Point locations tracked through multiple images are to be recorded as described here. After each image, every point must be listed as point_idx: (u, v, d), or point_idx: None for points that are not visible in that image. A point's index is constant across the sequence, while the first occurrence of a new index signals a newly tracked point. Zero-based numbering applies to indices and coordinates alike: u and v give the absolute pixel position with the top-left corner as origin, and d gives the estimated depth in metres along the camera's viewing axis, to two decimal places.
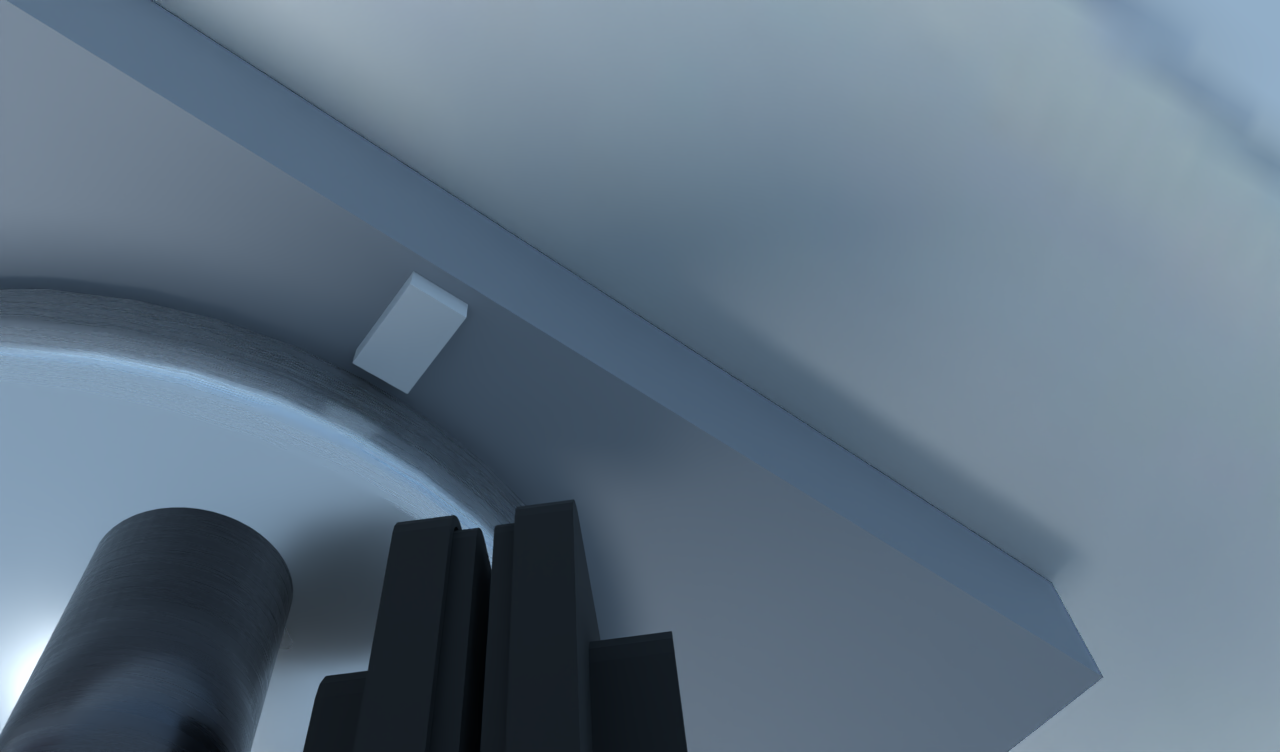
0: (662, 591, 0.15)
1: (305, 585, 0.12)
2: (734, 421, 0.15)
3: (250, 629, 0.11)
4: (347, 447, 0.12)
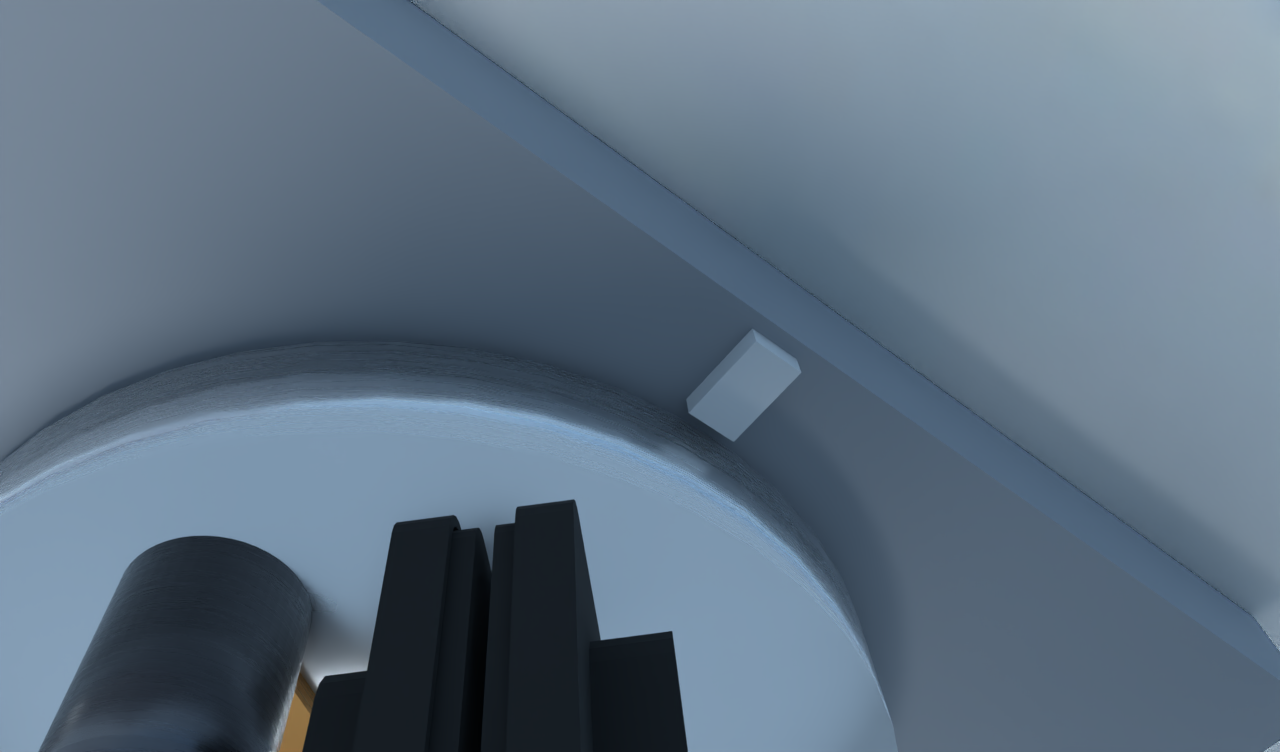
0: (927, 626, 0.16)
1: (282, 549, 0.12)
2: (1006, 466, 0.15)
3: (200, 617, 0.11)
4: (207, 418, 0.12)
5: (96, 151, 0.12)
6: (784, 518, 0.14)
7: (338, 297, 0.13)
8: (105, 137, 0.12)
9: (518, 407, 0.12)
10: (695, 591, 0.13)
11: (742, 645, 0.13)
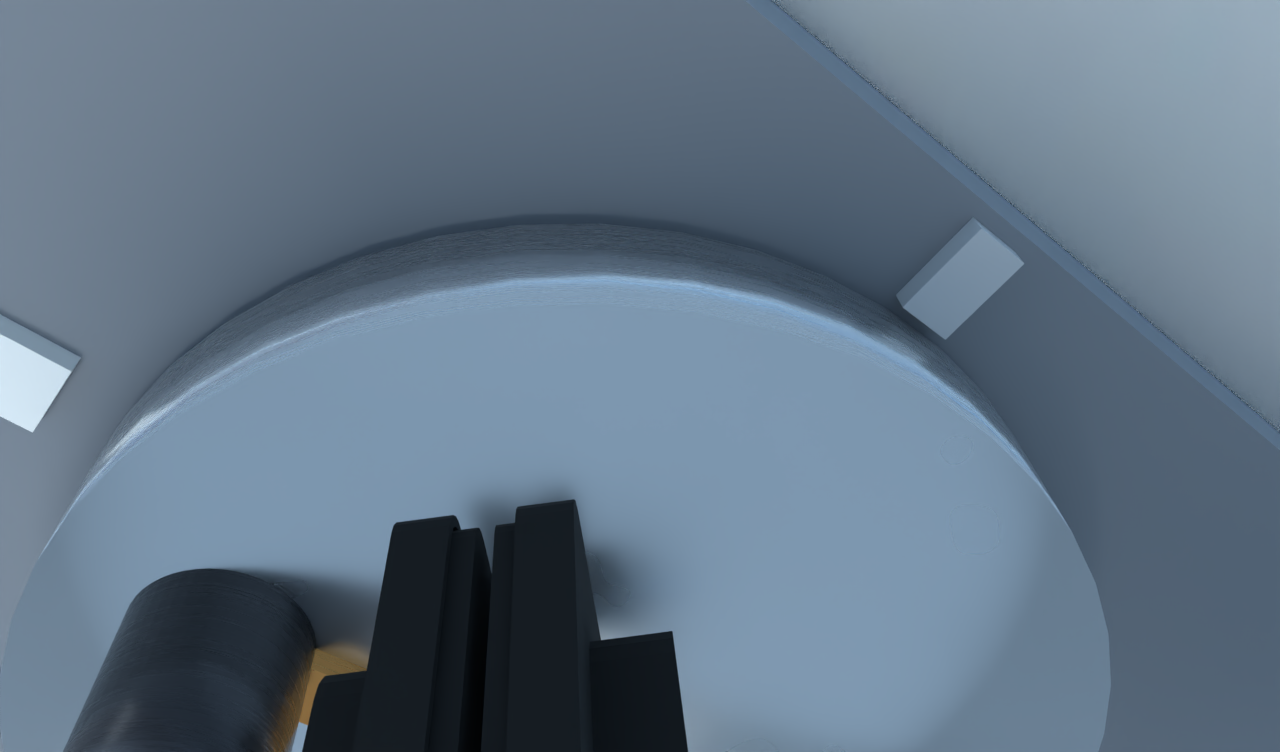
0: (1114, 546, 0.15)
1: (217, 559, 0.12)
2: (1203, 378, 0.15)
3: (137, 655, 0.11)
4: (86, 483, 0.12)
5: (310, 12, 0.11)
6: (684, 255, 0.12)
7: (546, 178, 0.12)
8: None
9: (319, 311, 0.11)
10: (593, 382, 0.11)
11: (693, 406, 0.11)
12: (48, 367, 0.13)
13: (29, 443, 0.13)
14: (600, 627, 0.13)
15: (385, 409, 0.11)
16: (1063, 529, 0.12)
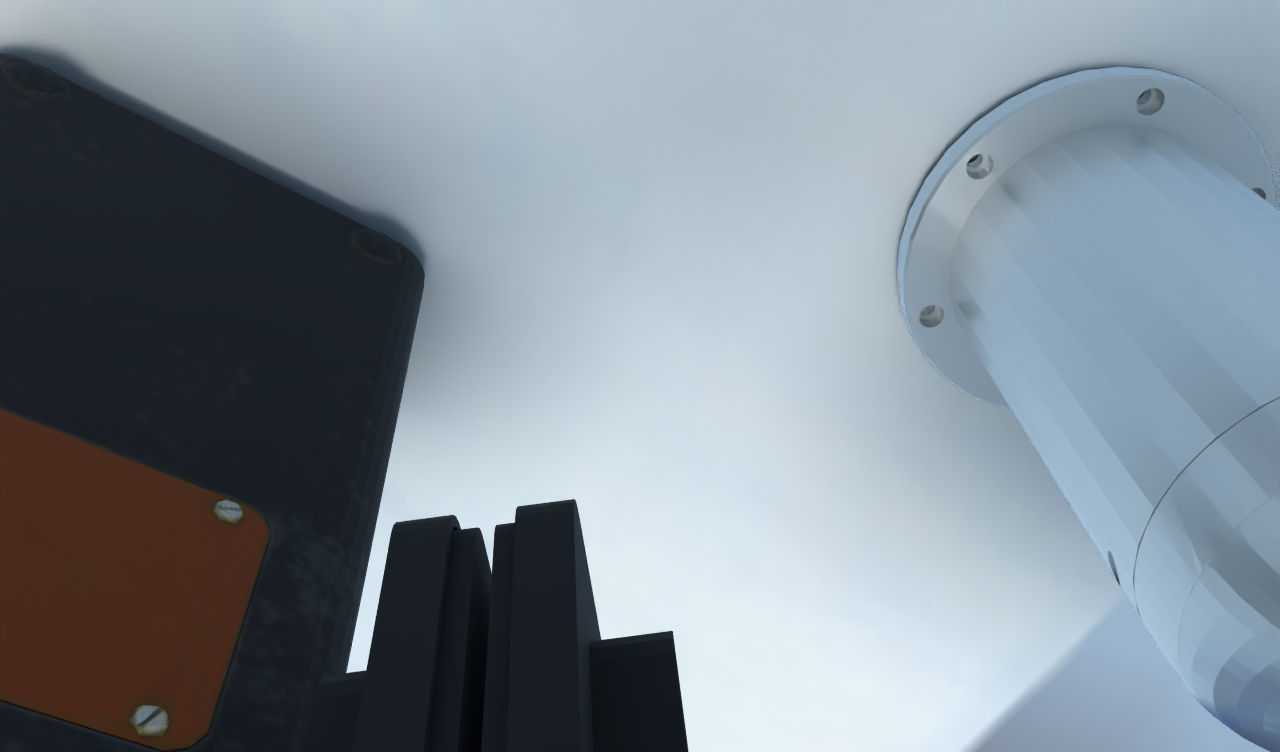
0: None
1: None
2: None
3: None
4: None
5: None
6: None
7: None
8: None
9: None
10: None
11: None
12: None
13: None
14: None
15: None
16: None
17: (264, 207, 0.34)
